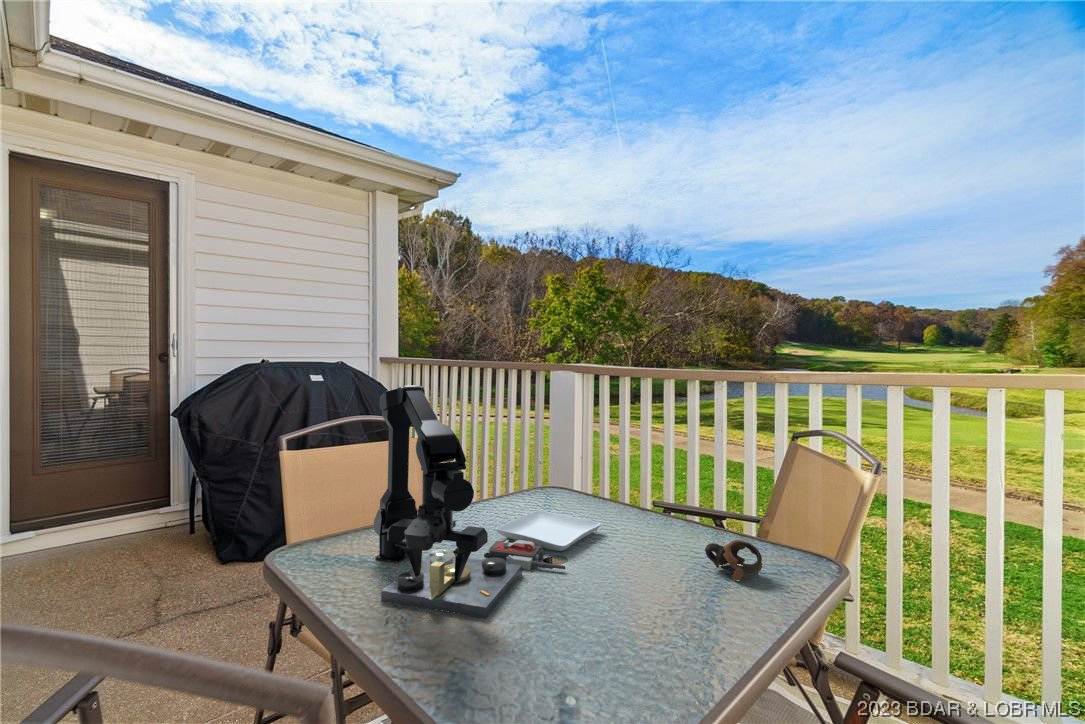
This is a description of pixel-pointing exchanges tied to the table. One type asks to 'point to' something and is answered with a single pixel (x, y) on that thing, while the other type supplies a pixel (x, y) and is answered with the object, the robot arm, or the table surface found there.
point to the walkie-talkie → (520, 554)
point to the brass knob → (445, 576)
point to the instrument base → (456, 586)
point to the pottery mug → (735, 558)
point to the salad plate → (548, 529)
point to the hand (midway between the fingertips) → (437, 578)
